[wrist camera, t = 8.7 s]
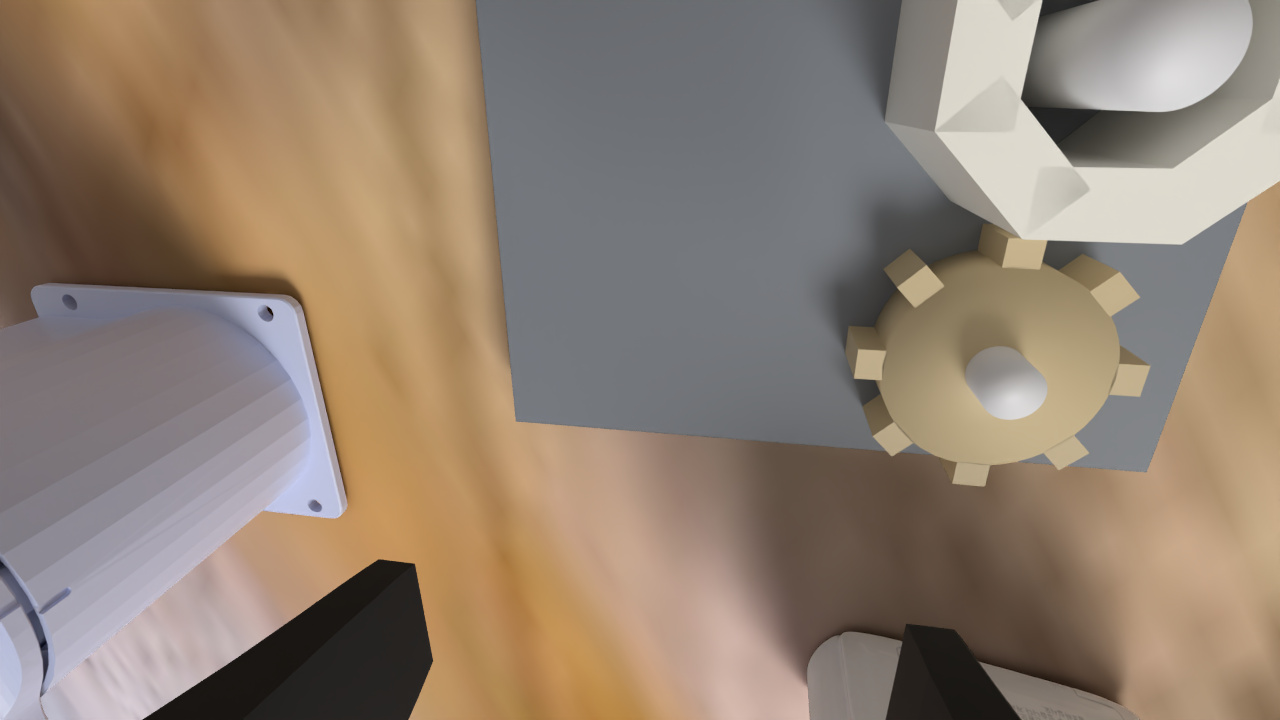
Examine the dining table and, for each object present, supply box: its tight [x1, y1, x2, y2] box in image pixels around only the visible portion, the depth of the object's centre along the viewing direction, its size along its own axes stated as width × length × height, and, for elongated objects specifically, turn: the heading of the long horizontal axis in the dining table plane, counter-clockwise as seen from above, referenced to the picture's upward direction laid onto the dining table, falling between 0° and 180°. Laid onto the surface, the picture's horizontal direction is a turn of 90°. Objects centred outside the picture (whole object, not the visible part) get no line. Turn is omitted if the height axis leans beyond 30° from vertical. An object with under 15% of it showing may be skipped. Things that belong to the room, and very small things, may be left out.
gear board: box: [476, 0, 1253, 487], centre depth 11 cm, size 16×18×6 cm
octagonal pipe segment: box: [885, 0, 1280, 245], centre depth 10 cm, size 5×5×4 cm
